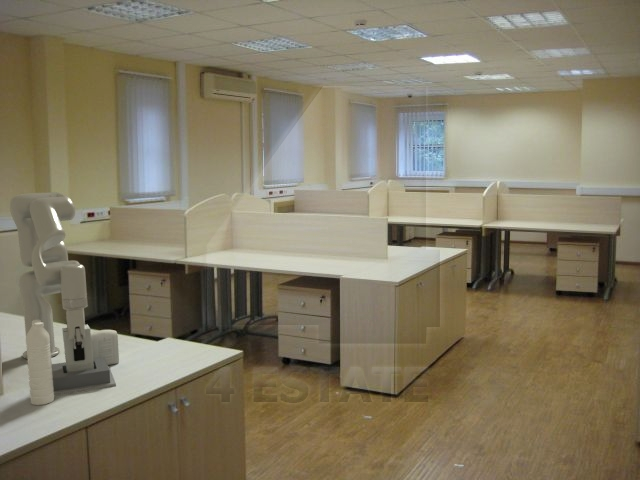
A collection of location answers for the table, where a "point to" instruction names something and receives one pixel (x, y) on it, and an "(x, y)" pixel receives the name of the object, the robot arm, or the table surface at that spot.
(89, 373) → the dock
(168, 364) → the table surface
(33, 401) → the water bottle
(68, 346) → the skincare box
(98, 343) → the photo printer
